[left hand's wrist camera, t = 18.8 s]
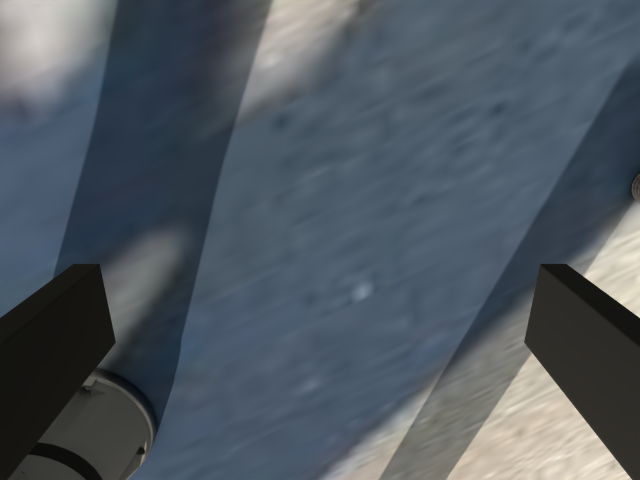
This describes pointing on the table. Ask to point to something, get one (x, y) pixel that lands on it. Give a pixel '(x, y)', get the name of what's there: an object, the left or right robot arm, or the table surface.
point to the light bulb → (636, 188)
